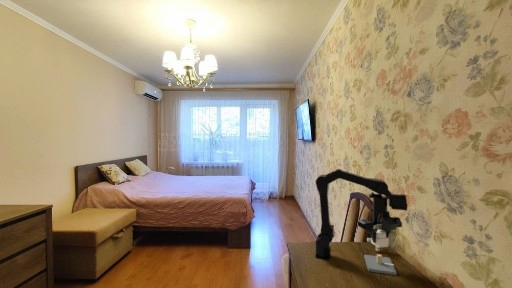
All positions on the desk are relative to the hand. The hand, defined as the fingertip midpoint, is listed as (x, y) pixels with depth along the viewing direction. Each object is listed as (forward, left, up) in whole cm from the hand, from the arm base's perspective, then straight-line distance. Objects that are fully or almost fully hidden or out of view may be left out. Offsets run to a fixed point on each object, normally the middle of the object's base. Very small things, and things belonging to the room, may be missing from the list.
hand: (379, 242), depth 112 cm
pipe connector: (+2, +16, -11) cm, 20 cm away
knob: (0, 0, -1) cm, 1 cm away
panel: (0, 0, -11) cm, 11 cm away
